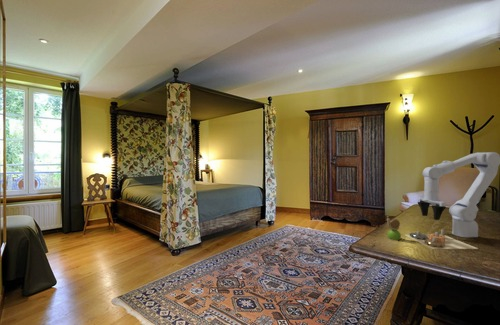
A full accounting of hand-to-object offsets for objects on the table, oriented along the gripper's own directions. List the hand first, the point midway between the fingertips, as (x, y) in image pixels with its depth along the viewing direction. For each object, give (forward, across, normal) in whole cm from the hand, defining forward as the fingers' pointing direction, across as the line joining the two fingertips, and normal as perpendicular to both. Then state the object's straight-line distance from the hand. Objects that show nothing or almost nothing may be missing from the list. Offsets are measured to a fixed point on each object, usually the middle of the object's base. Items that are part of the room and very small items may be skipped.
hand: (430, 217), depth 120 cm
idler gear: (+8, +10, -5) cm, 14 cm away
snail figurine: (+10, +7, -24) cm, 26 cm away
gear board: (+9, +10, -5) cm, 15 cm away
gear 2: (+8, +15, -10) cm, 20 cm away
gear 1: (+8, +5, -10) cm, 14 cm away
